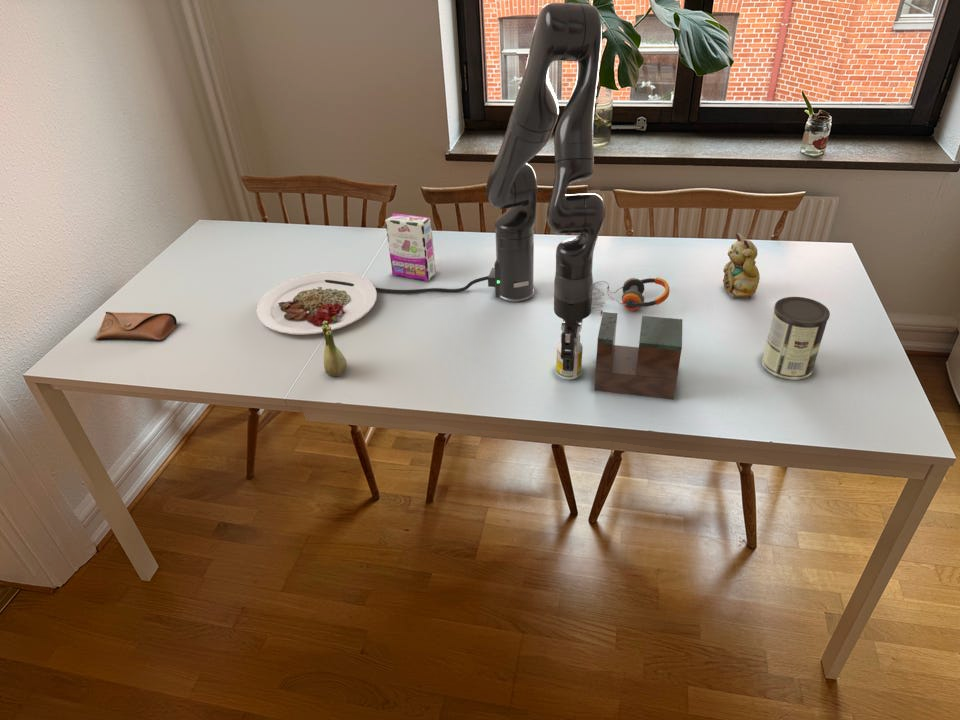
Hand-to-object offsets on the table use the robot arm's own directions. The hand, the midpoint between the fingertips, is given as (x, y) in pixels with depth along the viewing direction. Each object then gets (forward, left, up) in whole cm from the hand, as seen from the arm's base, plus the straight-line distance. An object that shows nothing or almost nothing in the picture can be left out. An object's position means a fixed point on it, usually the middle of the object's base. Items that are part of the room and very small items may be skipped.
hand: (570, 358), depth 145 cm
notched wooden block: (+14, 0, -4) cm, 14 cm away
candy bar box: (-47, +36, -4) cm, 60 cm away
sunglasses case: (-106, -3, -4) cm, 106 cm away
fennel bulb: (-50, -9, -4) cm, 51 cm away
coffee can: (+45, +11, -4) cm, 46 cm away
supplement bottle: (0, 0, -4) cm, 4 cm away
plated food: (-66, +16, -4) cm, 68 cm away
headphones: (+10, +31, -4) cm, 33 cm away
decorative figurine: (+37, +41, -4) cm, 55 cm away
